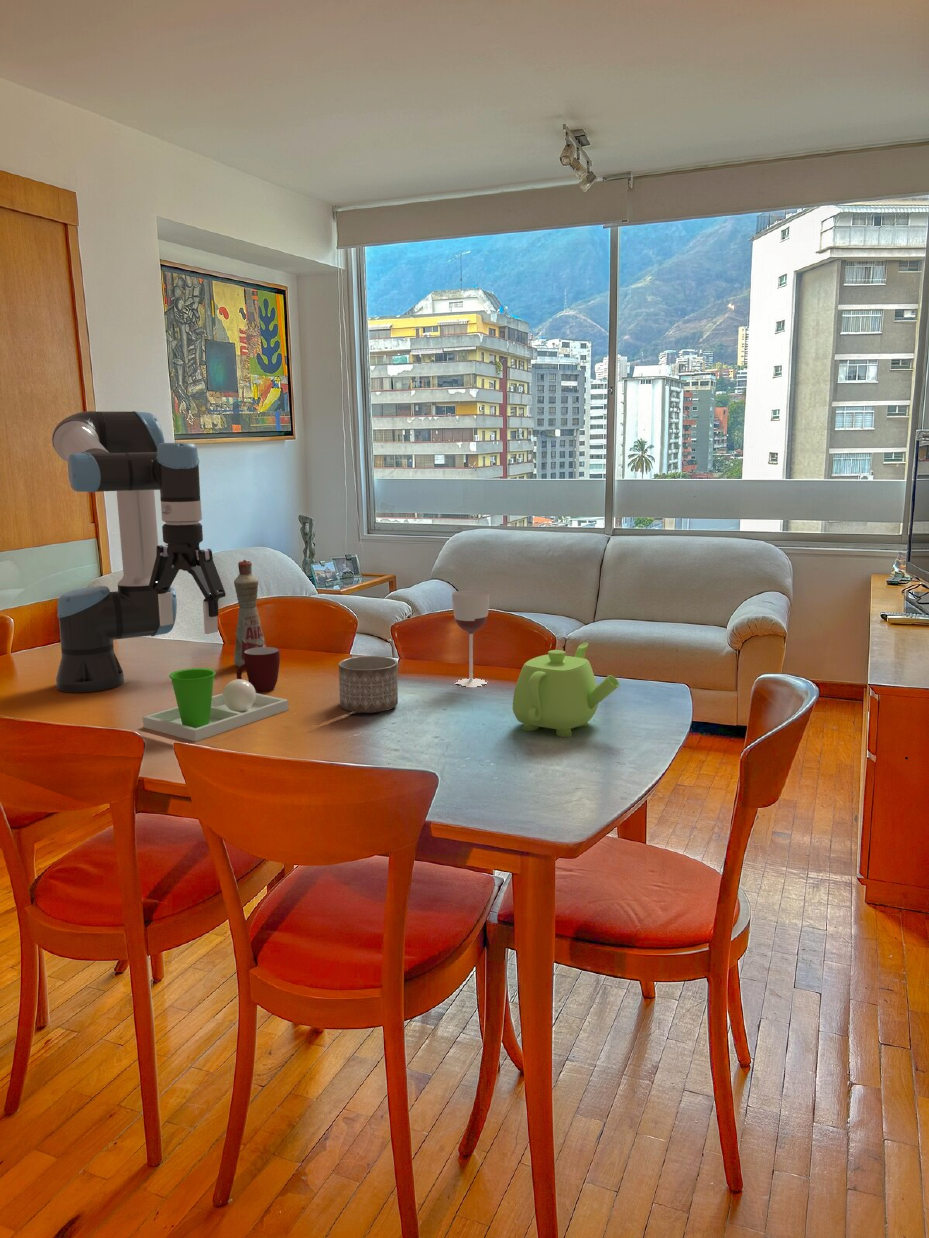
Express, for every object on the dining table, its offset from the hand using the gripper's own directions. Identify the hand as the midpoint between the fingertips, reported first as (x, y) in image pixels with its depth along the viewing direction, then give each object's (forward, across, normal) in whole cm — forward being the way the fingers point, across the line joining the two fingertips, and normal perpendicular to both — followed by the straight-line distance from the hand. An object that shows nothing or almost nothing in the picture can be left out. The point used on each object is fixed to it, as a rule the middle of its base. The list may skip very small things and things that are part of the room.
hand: (188, 628), depth 180 cm
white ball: (+20, +1, +11) cm, 23 cm away
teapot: (+21, +64, +44) cm, 80 cm away
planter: (+21, +21, +30) cm, 42 cm away
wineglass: (+21, +28, +60) cm, 70 cm away
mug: (+21, -8, +25) cm, 34 cm away
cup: (+20, +1, -1) cm, 20 cm away
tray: (+21, +1, +5) cm, 21 cm away
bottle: (+21, -30, +43) cm, 57 cm away
